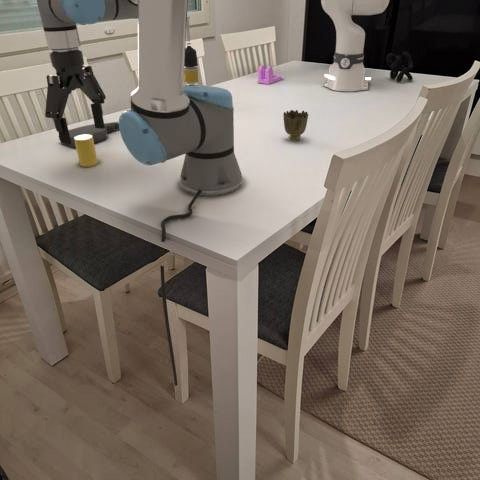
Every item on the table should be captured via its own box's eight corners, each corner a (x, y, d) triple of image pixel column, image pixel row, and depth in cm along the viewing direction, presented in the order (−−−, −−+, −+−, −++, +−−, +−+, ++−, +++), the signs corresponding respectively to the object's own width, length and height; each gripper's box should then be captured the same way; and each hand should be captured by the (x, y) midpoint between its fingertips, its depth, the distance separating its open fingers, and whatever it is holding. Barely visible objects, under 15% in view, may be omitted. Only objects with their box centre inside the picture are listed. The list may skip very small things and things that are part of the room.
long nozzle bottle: (202, 103, 173) (196, 17, 157) (188, 104, 171) (181, 18, 155) (197, 99, 177) (192, 15, 161) (184, 101, 176) (177, 16, 160)
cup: (278, 141, 135) (279, 114, 131) (287, 133, 140) (288, 108, 136) (301, 144, 132) (303, 118, 128) (310, 137, 137) (312, 111, 133)
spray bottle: (57, 141, 138) (121, 123, 154) (77, 149, 132) (142, 129, 148) (55, 132, 136) (120, 114, 152) (75, 139, 130) (141, 120, 146)
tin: (80, 161, 125) (75, 135, 121) (98, 159, 125) (93, 133, 121) (79, 167, 121) (73, 140, 117) (97, 165, 121) (91, 139, 117)
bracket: (268, 84, 198) (268, 67, 194) (258, 82, 201) (258, 66, 197) (284, 78, 207) (284, 62, 203) (274, 77, 209) (274, 61, 206)
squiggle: (400, 92, 202) (376, 71, 205) (417, 76, 202) (392, 56, 205) (405, 81, 191) (380, 59, 194) (423, 64, 191) (397, 42, 194)
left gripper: (86, 42, 118) (101, 121, 129) (12, 57, 99) (38, 149, 110) (109, 42, 116) (123, 123, 127) (38, 58, 96) (62, 152, 107)
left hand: (84, 135), depth 118 cm, fingers open, 13 cm apart
